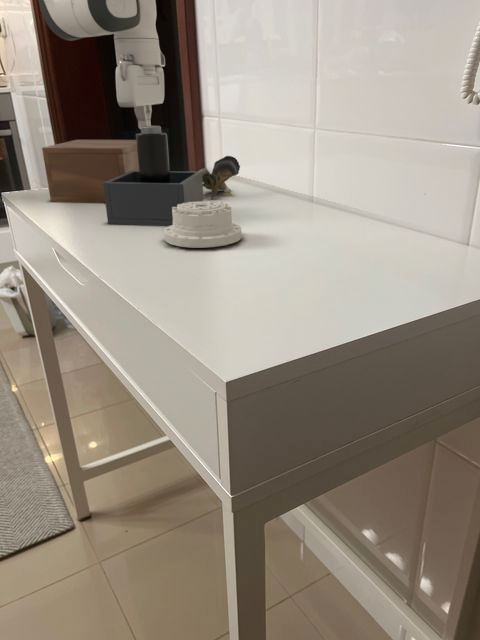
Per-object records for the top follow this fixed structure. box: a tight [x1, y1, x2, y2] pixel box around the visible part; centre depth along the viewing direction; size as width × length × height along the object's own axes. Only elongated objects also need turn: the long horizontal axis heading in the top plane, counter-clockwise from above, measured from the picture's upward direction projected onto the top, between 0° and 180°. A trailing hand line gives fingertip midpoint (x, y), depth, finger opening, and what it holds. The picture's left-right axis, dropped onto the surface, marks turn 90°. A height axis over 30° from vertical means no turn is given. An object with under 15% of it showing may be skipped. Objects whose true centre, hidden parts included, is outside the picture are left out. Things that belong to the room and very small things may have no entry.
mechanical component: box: [163, 200, 242, 249], centre depth 72 cm, size 10×4×10 cm
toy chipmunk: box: [197, 155, 241, 200], centre depth 99 cm, size 8×7×9 cm
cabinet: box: [41, 139, 139, 204], centre depth 99 cm, size 14×14×9 cm
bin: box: [103, 170, 204, 227], centre depth 84 cm, size 12×12×6 cm
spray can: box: [135, 125, 171, 183], centre depth 82 cm, size 4×4×12 cm
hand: (145, 128), depth 120 cm, fingers closed
